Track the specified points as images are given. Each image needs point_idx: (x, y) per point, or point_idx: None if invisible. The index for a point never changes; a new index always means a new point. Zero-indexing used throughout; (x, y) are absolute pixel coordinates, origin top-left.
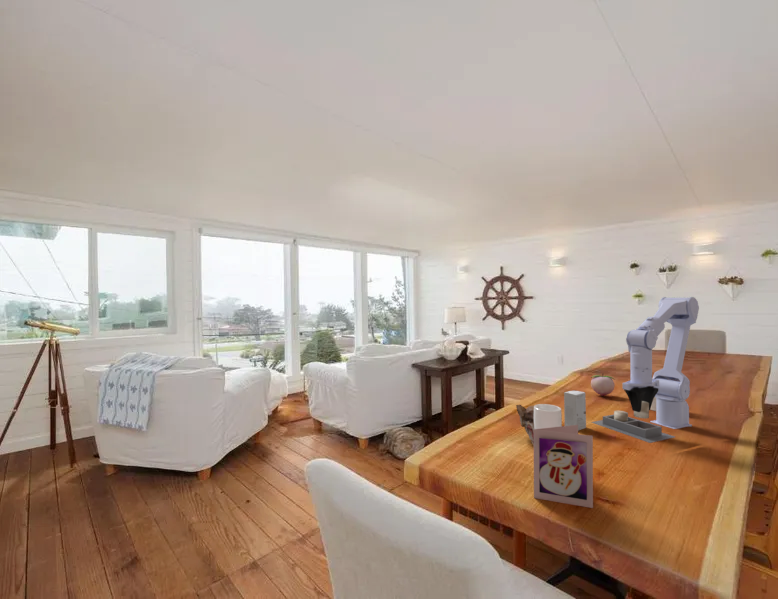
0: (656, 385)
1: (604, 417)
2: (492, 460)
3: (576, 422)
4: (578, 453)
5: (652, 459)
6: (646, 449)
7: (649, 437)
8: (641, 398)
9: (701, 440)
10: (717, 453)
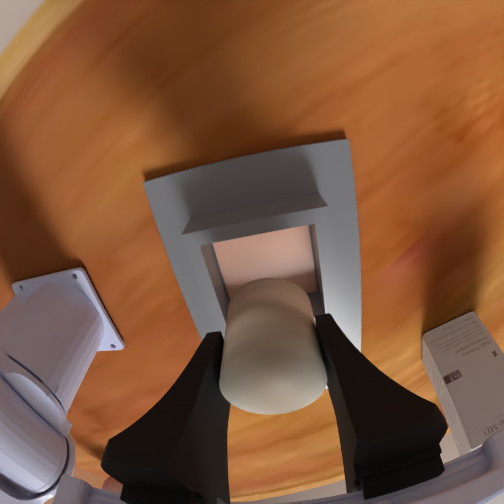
0: (84, 487)
1: None
2: None
3: (487, 332)
4: None
5: (457, 31)
6: (409, 100)
7: (287, 197)
8: (360, 384)
9: (59, 148)
10: (123, 6)
